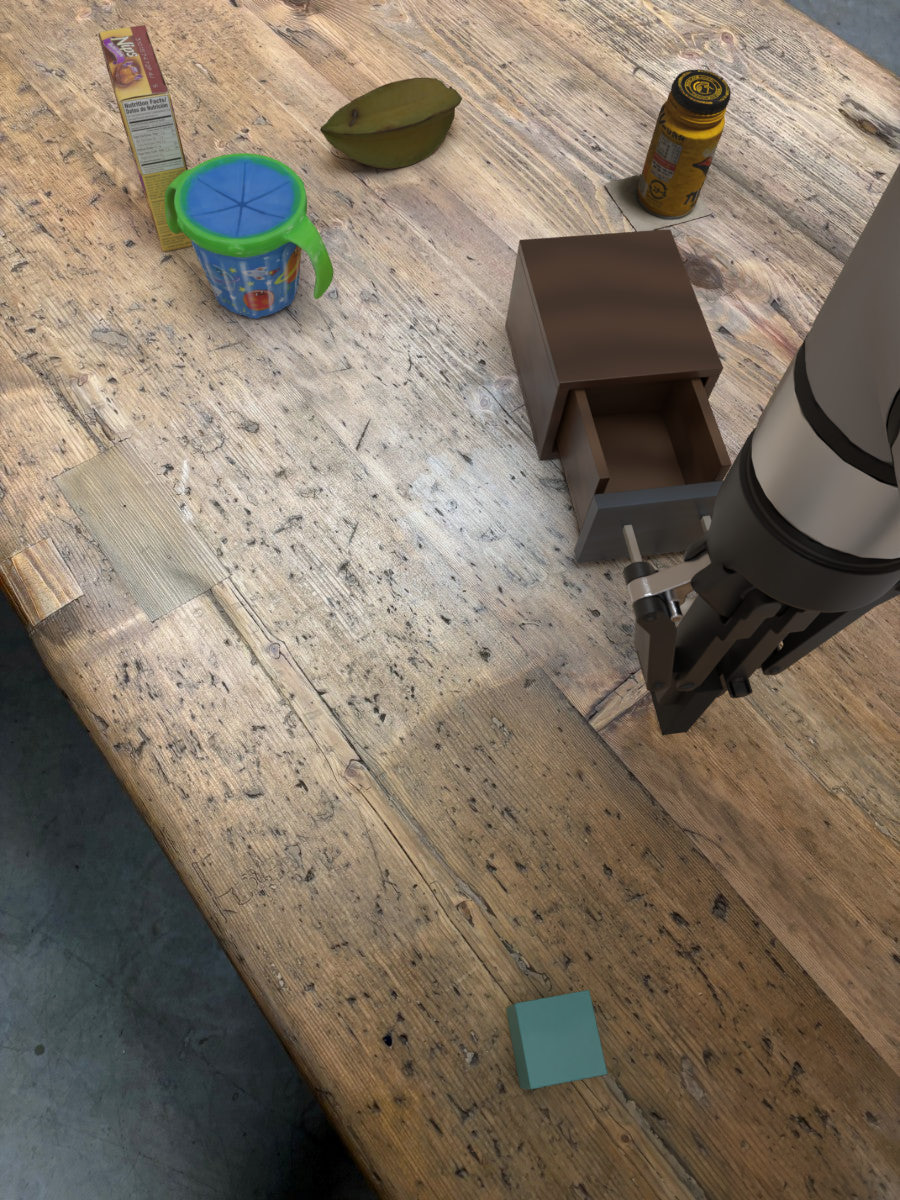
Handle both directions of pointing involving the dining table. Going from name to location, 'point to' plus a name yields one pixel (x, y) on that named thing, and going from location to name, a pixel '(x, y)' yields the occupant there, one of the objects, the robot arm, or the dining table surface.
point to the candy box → (146, 121)
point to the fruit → (394, 123)
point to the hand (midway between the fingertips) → (668, 711)
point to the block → (555, 1040)
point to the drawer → (641, 467)
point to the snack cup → (248, 230)
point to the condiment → (677, 155)
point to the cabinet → (602, 321)
